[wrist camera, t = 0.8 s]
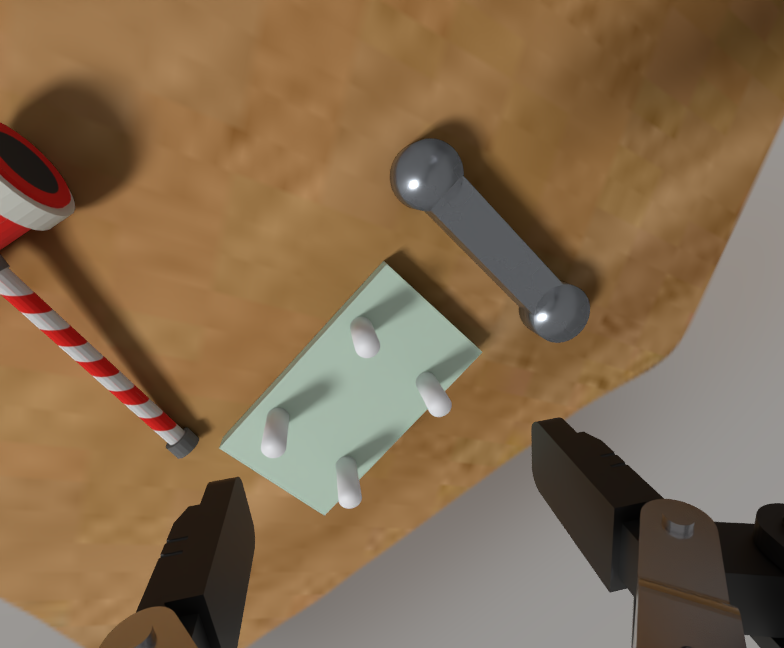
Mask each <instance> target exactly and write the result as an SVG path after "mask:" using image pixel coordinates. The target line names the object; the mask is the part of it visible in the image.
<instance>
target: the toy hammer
mask: <svg viewBox="0 0 784 648" xmlns="http://www.w3.org/2000/svg"><path fill="white" fill-rule="evenodd" d="M74 210H75V203H74V199H73V196H72V194H71V192H70V190H69V188H68V186H67V184H66V182H65V181H64V179H63V178H62V176H61V175H60V173H59V172H58V171H57V169H56V168H55V167H54V166H53V165H52V164H51V162H50V161H49V160H48V159H47V158H46V157H45V156H44V155H43V154H42V153H41V152H40V151H39V150H38V149H37V148H36V147H34V146H33V145H32V144H31V143H30V142H29V141H27V140H26V139H25V138H24V137H22V136H21V135H20V134H18V133H17V132H15V131H14V130H12V129H11V128H9V127H7V126H6V125H4V124H2V123H0V250H1V249H2V248H4V247H5V246H7V245H8V244H10V243H11V242H13V241H14V240H16V239H17V238H19V237H20V236H22V235H23V234H25V233H26V232H28V231H29V230H31V229H34V230H42V231H44V230H49V229H51V228H52V227H54V226H55V225H57V224H58V223H59V222H61V221H62V220H64V219H65V218H67V217H68V216H70V215H71V214H73V213H74ZM9 267H10V266H9V265H8V263H7V262H6V261H5V259H4V258H3V257H2V255H1V254H0V294H1V295H2V296H3V297H4V298H5V299H6V300H8V301H9V302H10V303H11V304H12V305H13V306H14V307H15V308H17V309H18V310H19V311H20V312H21V313H22V314H23V315H24V316H26V317H27V318H28V319H29V320H30V321H31V322H32V323H33V324H35V325H36V326H37V327H38V328H39V329H40V330H41V331H42V332H44V333H45V334H46V335H47V336H48V337H49V338H50V339H52V340H53V341H54V342H55V343H56V344H57V345H58V346H59V347H61V348H62V349H63V350H64V351H65V352H66V353H67V354H68V355H70V356H71V357H72V358H73V359H74V360H75V361H76V362H77V363H79V364H80V365H81V366H82V367H83V368H84V369H85V370H86V371H88V372H89V373H90V374H91V375H92V376H93V377H94V378H95V379H97V380H98V381H99V382H100V383H101V384H102V385H103V386H104V387H106V388H107V389H108V390H109V391H110V392H111V393H112V394H113V395H115V396H116V397H117V398H118V399H119V400H120V401H121V402H122V403H124V404H125V405H126V406H127V407H128V408H129V409H130V410H131V411H133V412H134V413H135V414H136V415H137V416H138V417H139V418H140V419H142V420H143V421H144V422H145V423H146V424H147V425H148V426H150V427H151V428H152V429H153V430H154V431H155V432H156V433H157V434H158V435H160V436H161V437H162V438H163V439H164V440H165V441H166V442H167V445H166V448H167V449H168V450H169V451H170V452H171V453H173V454H174V455H175V456H176V457H177V458H178V459H179V458H183V457H185V456H186V455H188V454H189V453H190V452H191V451H192V450H193V449H194V448H195V447H196V445H197V444H198V441H199V438H198V437H197V436H196V435H195V434H194V433H193V432H192V431H191V430H190V429H189V428H187V427H186V428H184V429H182V428H181V427H180V426H178V425H177V424H176V423H175V422H174V421H173V420H172V419H171V418H170V417H169V416H168V415H167V414H165V413H164V412H163V411H162V410H161V409H160V408H159V407H158V406H157V405H156V404H155V403H154V402H152V401H151V400H150V399H149V398H148V397H147V396H146V395H145V394H144V393H143V392H142V391H141V390H140V389H138V388H137V387H136V386H135V385H134V384H133V383H132V382H131V381H130V380H129V379H128V378H127V377H125V376H124V375H123V374H122V373H121V372H120V371H119V370H118V369H117V368H116V367H115V366H114V365H112V364H111V363H110V362H109V361H108V360H107V359H106V358H105V357H104V356H103V355H102V354H101V353H99V352H98V351H97V350H96V349H95V348H94V347H93V346H92V345H91V344H90V343H89V342H88V341H86V340H85V339H84V338H83V337H82V336H81V335H80V334H79V333H78V332H77V331H76V330H75V329H73V328H72V327H71V326H70V325H69V324H68V323H67V322H66V321H65V320H64V319H63V318H62V317H61V316H59V315H58V314H57V313H56V312H55V311H54V310H53V309H52V308H51V307H50V306H49V305H48V304H46V303H45V302H44V301H43V300H42V299H41V298H40V297H39V296H38V295H37V294H36V293H35V292H33V291H32V290H31V289H30V288H29V287H28V286H27V285H26V284H25V283H24V282H23V281H22V280H21V279H20V278H18V277H17V276H16V275H15V274H14V273H13V272H12V271H11V270H10V269H9Z"/></svg>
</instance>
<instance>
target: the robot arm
mask: <svg viewBox="0 0 784 648" xmlns="http://www.w3.org/2000/svg"><path fill="white" fill-rule="evenodd" d="M532 472H533V477H534V481H535V484H536V486H537V488H538V490H539V492H540V493H541V495H542V496H543V498H544V499H545V501H546V502H547V503H548V505H549V506H550V508H551V509H552V511H553V512H554V514H555V515H556V516H557V518H558V519H559V521H560V522H561V524H562V525H563V526H564V528H565V529H566V530H567V532H568V534H569V535H570V536H571V538H572V539H573V541H574V542H575V544H576V545H577V546H578V548H579V549H580V551H581V552H582V553H583V555H584V556H585V558H586V559H587V561H588V562H589V563H590V565H591V566H592V568H593V569H594V571H595V572H596V574H597V575H598V576H599V578H600V579H601V581H602V582H603V584H604V585H605V586H606V588H607V589H608V591H609V592H614V591H618V590H622V589H626V588H628V589H629V591H630V592H631V593H632V595H633V596H634V601H633V619H632V640H631V648H746V643H745V637H744V635H750V636H751V637H752V638H753V640H754V641H755V642H756V643H757V644H758V645H759V647H760V648H784V504H780V503H775V504H768V505H765V506H762V507H761V508H760V509H758V511H757V514H756V519H755V524H745V523H726V522H714V521H713V520H712V519H711V518H710V517H709V516H708V515H707V514H706V513H704V512H703V511H701V510H700V509H698V508H696V507H694V506H692V505H690V504H687V503H685V502H681V501H677V500H672V499H664V498H663V497H662V496H661V495H660V494H658V493H657V492H656V491H655V490H654V489H653V488H652V487H651V486H650V485H649V484H647V482H645V481H644V480H643V479H642V478H641V477H640V476H639V475H638V474H637V473H636V472H635V471H634V470H632V468H630V467H629V466H628V465H625V462H624V461H623V460H622V459H621V458H620V457H619V456H618V455H615V454H614V452H613V451H612V450H611V449H610V448H609V447H608V446H607V445H606V444H605V443H603V442H602V441H601V440H599V439H597V438H595V437H593V436H591V435H589V434H587V433H585V432H579V433H577V432H575V430H574V429H573V428H572V427H571V426H570V425H569V424H568V423H567V422H566V421H565V420H563V419H562V418H554V419H548V420H543V421H538V422H534V423H533V424H532ZM254 549H255V532H254V525H253V521H252V517H251V513H250V510H249V506H248V502H247V498H246V495H245V491H244V487H243V483H242V481H241V479H240V477H235V478H229V479H224V480H219V481H213V482H209V483H208V485H207V487H206V490H205V492H204V495H203V498H202V501H201V503H200V505H195V506H189V507H188V508H187V509H186V510H185V511H184V512H183V513H182V515H181V516H180V517H179V518H178V519H177V520H176V521H175V522H174V524H173V526H172V529H171V531H170V533H169V536H168V538H167V544H165V545H164V547H163V550H162V552H161V558H159V559H158V562H157V564H156V566H155V569H154V571H153V573H152V576H151V578H150V580H149V583H148V585H147V588H146V590H145V592H144V595H143V597H142V599H141V602H140V604H139V606H138V609H137V611H136V613H135V614H133V615H131V616H129V617H128V618H126V619H125V620H123V621H122V622H121V623H119V624H118V625H117V626H116V627H115V628H114V629H113V630H112V631H111V632H110V633H109V634H108V635H107V637H106V638H105V639H104V641H103V642H102V644H101V645H100V647H99V648H237V646H238V640H239V634H240V629H241V623H242V617H243V612H244V606H245V600H246V595H247V589H248V583H249V578H250V572H251V566H252V561H253V555H254Z"/></svg>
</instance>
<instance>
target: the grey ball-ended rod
mask: <svg viewBox="0 0 784 648" xmlns="http://www.w3.org/2000/svg"><path fill="white" fill-rule="evenodd" d="M390 183H391V187H392V190H393V192H394V194H395V196H396V197H397V198H398V199H399V201H400V202H402V203H403V204H404V205H406V206H408V207H410V208H413V209H417V210H422V211H425V212H426V213H427V214H428V215H429V216H430V217H431V218H432V219H433V220H434V221H435V222H436V223H437V224H438V225H439V226H440V227H441V228H442V229H443V230H444V231H445V232H446V233H447V235H448V236H449V237H450V238H451V239H452V240H453V241H454V242H455V243H456V244H457V245H458V246H459V247H460V248H461V249H462V250H463V251H464V252H465V253H466V254H467V255H468V256H469V257H470V258H471V259H472V260H473V261H474V262H475V263H476V264H477V265H478V266H479V267H480V268H481V269H482V270H483V271H484V272H485V273H486V274H487V275H488V276H489V277H490V278H491V279H492V280H493V281H494V282H495V283H496V284H497V285H498V286H499V287H500V288H501V289H502V290H503V291H504V292H505V293H506V294H507V295H508V296H509V297H510V298H511V299H512V300H513V301H514V302H515V303H516V304H517V305H518V306H519V315H520V318H521V320H522V322H523V324H524V325H525V326H526V327H527V328H529V329H530V330H532V331H533V332H535V333H536V334H538V335H539V336H541V337H542V338H544V339H546V340H547V341H550V342H555V343H560V342H565V341H568V340H570V339H572V338H574V337H575V336H577V335H578V334H579V333H580V332H581V331H582V330H583V328H584V327H585V325H586V323H587V321H588V318H589V314H590V304H589V300H588V298H587V296H586V294H585V293H584V292H583V291H582V290H581V289H579V288H578V287H576V286H573V285H570V284H568V283H565V282H563V281H560V280H559V279H558V278H557V277H556V276H555V275H554V274H553V273H552V272H551V271H550V269H549V268H548V267H547V266H546V265H545V264H544V263H543V262H542V261H541V260H540V259H539V258H538V256H537V255H536V254H535V253H534V252H533V251H532V250H531V249H530V248H529V247H528V246H527V244H526V243H525V242H524V241H523V240H522V239H521V238H520V237H519V236H518V235H517V234H516V233H515V231H514V230H513V229H512V228H511V227H510V226H509V225H508V224H507V223H506V222H505V221H504V220H503V218H502V217H501V216H500V215H499V214H498V213H497V212H496V211H495V210H494V209H493V208H492V206H491V205H490V204H489V203H488V202H487V201H486V200H485V199H484V198H483V197H482V196H481V195H480V193H479V192H478V191H477V190H476V189H475V188H474V187H473V186H472V185H471V184H470V183H469V181H468V180H467V179H466V178H465V177H464V171H463V165H462V162H461V159H460V157H459V155H458V153H457V152H456V151H455V149H454V148H452V147H451V146H450V145H449V144H447V143H446V142H444V141H441V140H438V139H423V140H420V141H418V142H415V143H413V144H411V145H408V146H407V147H405V148H404V149H402V150H401V151H400V152H399V153H398V154H397V156H396V157H395V159H394V161H393V163H392V166H391V170H390Z"/></svg>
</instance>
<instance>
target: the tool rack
mask: <svg viewBox="0 0 784 648" xmlns="http://www.w3.org/2000/svg"><path fill="white" fill-rule="evenodd" d="M481 353H482V351H481V350H480V349H479V348H478V347H477V346H476V345H474V344H473V343H472V342H471V341H470V340H469V339H468V338H467V337H466V336H465V335H464V334H463V333H461V332H460V331H459V330H458V329H457V328H456V327H455V326H454V325H453V324H452V323H451V322H450V321H448V320H447V319H446V318H445V317H444V316H443V315H442V314H441V313H440V312H439V311H438V310H437V309H435V308H434V307H433V306H432V305H431V304H430V303H429V302H428V301H427V300H426V299H425V298H423V297H422V296H421V295H420V294H419V293H418V292H417V291H416V290H415V289H414V288H413V287H412V286H410V285H409V284H408V283H407V282H406V281H405V280H404V279H403V278H402V277H401V276H400V275H399V274H397V273H396V272H395V271H394V270H393V269H392V268H391V267H390V266H389V265H388V264H387V263H385V262H384V261H383V262H382V263H381V264H380V265H379V266H378V267H377V269H376V270H375V271H374V272H373V273H372V274H371V275H370V276H369V277H368V278H367V280H366V281H365V282H364V283H363V284H362V285H361V286H360V287H359V288H358V289H357V291H356V292H355V293H354V294H353V295H352V296H351V297H350V298H349V299H348V300H347V302H346V303H345V304H344V305H343V306H342V307H341V308H340V309H339V310H338V311H337V313H336V314H335V315H334V316H333V317H332V318H331V319H330V320H329V321H328V322H327V324H326V325H325V326H324V327H323V328H322V329H321V330H320V331H319V332H318V333H317V335H316V336H315V337H314V338H313V339H312V340H311V341H310V342H309V343H308V344H307V346H306V347H305V348H304V349H303V350H302V351H301V352H300V353H299V354H298V355H297V357H296V358H295V359H294V360H293V361H292V362H291V363H290V364H289V365H288V366H287V368H286V369H285V370H284V371H283V372H282V373H281V374H280V375H279V376H278V377H277V379H276V380H275V381H274V382H273V383H272V384H271V385H270V386H269V387H268V388H267V390H266V391H265V392H264V393H263V394H262V395H261V396H260V397H259V398H258V399H257V401H256V402H255V403H254V404H253V405H252V406H251V407H250V408H249V409H248V410H247V412H246V413H245V414H244V415H243V416H242V417H241V418H240V419H239V420H238V421H237V423H236V424H235V425H234V426H233V427H232V428H231V429H230V430H229V431H228V432H227V434H226V435H225V436H224V437H223V439H222V442H221V444H220V447H219V448H220V449H221V450H223V451H224V452H226V453H227V454H229V455H231V456H232V457H234V458H235V459H237V460H238V461H240V462H241V463H243V464H245V465H246V466H248V467H249V468H251V469H252V470H254V471H256V472H257V473H259V474H260V475H262V476H263V477H265V478H266V479H268V480H270V481H271V482H273V483H274V484H276V485H277V486H279V487H281V488H282V489H284V490H285V491H287V492H288V493H290V494H291V495H293V496H295V497H296V498H298V499H299V500H301V501H302V502H304V503H306V504H307V505H309V506H310V507H312V508H313V509H315V510H316V511H318V512H320V513H321V514H323V515H325V514H326V513H327V512H328V511H329V510H330V509H331V508H332V507H333V506H334V505H335V504H336V503H337V502H338V501H339V504H340V505H341V506H342V507H344V508H348V509H350V508H354V507H356V506H358V505H359V504H360V502H361V499H362V496H361V489H360V483H359V479H360V478H361V477H362V476H363V475H364V474H365V473H366V472H367V471H368V470H369V469H370V468H371V467H372V466H373V465H374V464H375V463H376V462H377V461H378V460H379V459H380V458H381V457H382V456H383V454H384V453H385V452H386V451H387V450H388V449H389V448H390V447H391V446H392V445H393V444H394V443H395V442H396V441H397V440H398V439H399V438H400V437H401V436H402V435H403V434H404V433H405V432H406V431H407V430H408V429H409V428H410V427H411V426H412V424H413V423H414V422H415V421H416V420H417V419H418V418H419V417H420V416H421V415H422V414H423V413H424V412H425V411H426V410H427V409H428V410H429V412H430V413H431V414H432V415H433V416H436V417H442V416H444V415H446V414H447V413H448V412H449V411H450V409H451V401H450V399H449V397H448V396H447V394H446V393H445V390H446V389H447V388H448V387H449V386H450V385H451V384H452V383H453V382H454V381H455V380H456V379H457V378H458V377H459V376H460V375H461V374H462V373H463V372H464V371H465V370H466V369H467V368H468V367H469V366H470V365H471V363H472V362H473V361H474V360H475V359H476V358H477V357H478V356H479V355H480V354H481Z"/></svg>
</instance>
